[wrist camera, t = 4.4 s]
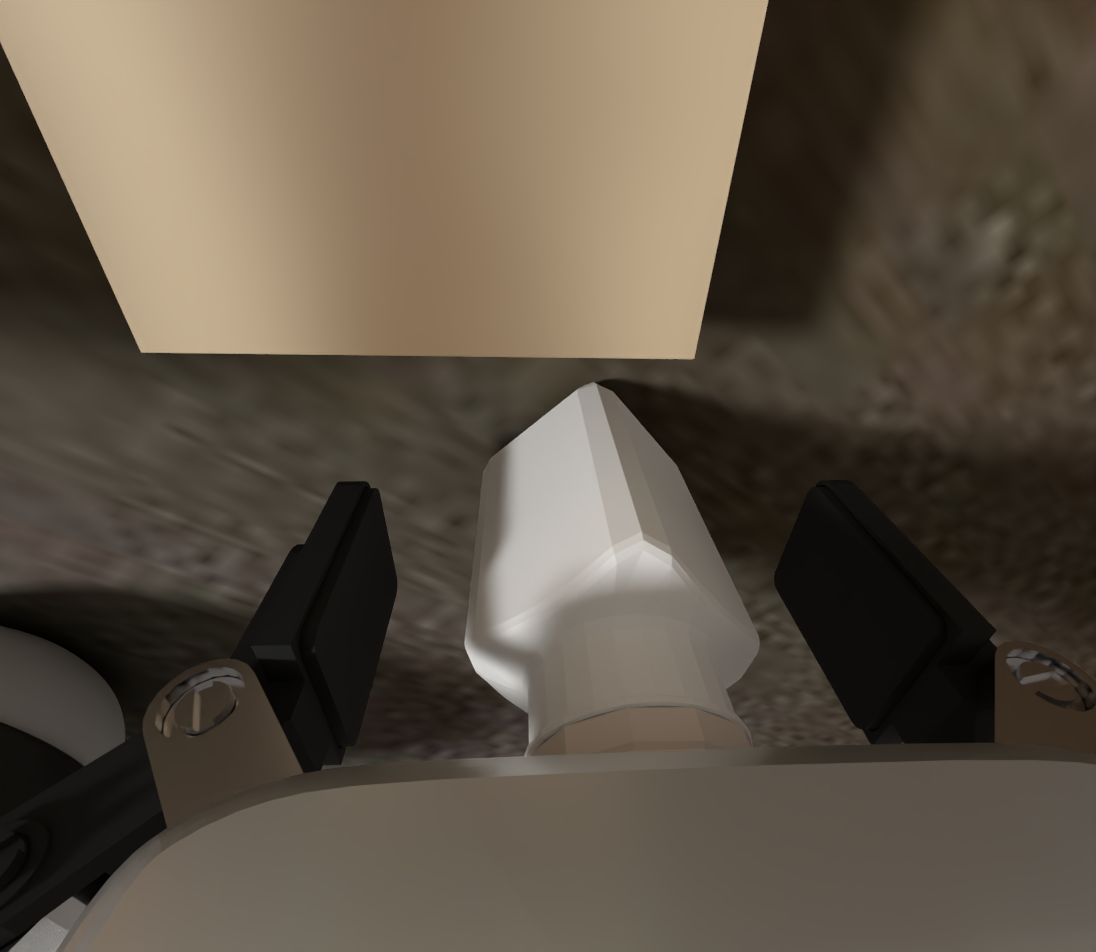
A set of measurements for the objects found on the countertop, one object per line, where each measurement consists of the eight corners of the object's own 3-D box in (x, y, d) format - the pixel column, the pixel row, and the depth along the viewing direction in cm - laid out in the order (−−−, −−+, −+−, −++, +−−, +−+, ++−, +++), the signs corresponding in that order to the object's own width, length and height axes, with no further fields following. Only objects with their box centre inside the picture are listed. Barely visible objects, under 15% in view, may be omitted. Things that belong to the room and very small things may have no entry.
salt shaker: (474, 459, 13) (407, 945, 5) (594, 363, 12) (747, 825, 4) (570, 541, 15) (625, 993, 7) (683, 467, 13) (908, 924, 6)
